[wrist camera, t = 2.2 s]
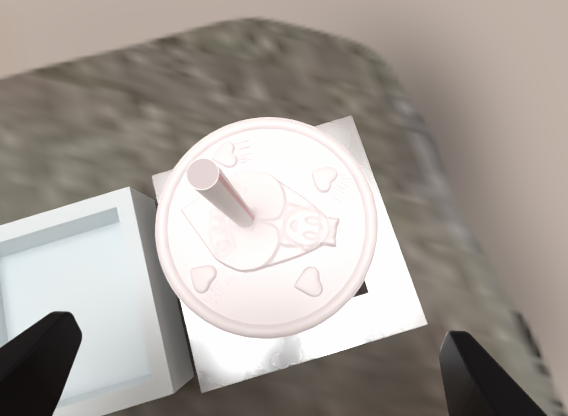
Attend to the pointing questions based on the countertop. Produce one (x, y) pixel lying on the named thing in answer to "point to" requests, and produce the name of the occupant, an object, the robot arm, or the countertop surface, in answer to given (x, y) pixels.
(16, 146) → the countertop surface
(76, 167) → the countertop surface
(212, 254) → the smoothie
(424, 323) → the bore block
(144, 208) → the tray
